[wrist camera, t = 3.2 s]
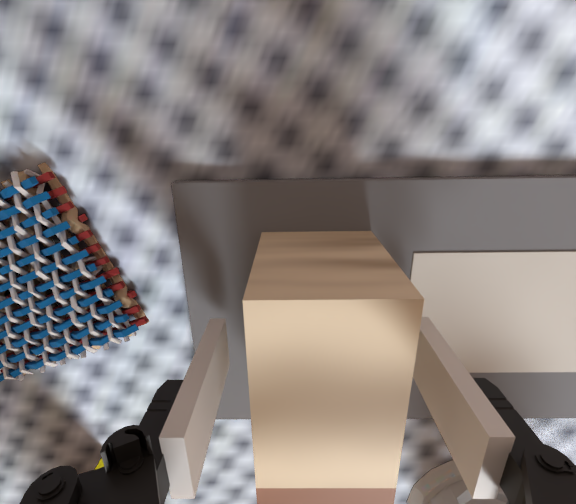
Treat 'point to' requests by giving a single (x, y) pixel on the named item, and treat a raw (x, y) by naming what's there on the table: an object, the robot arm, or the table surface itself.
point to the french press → (447, 488)
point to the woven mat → (54, 281)
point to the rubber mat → (411, 268)
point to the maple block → (328, 366)
